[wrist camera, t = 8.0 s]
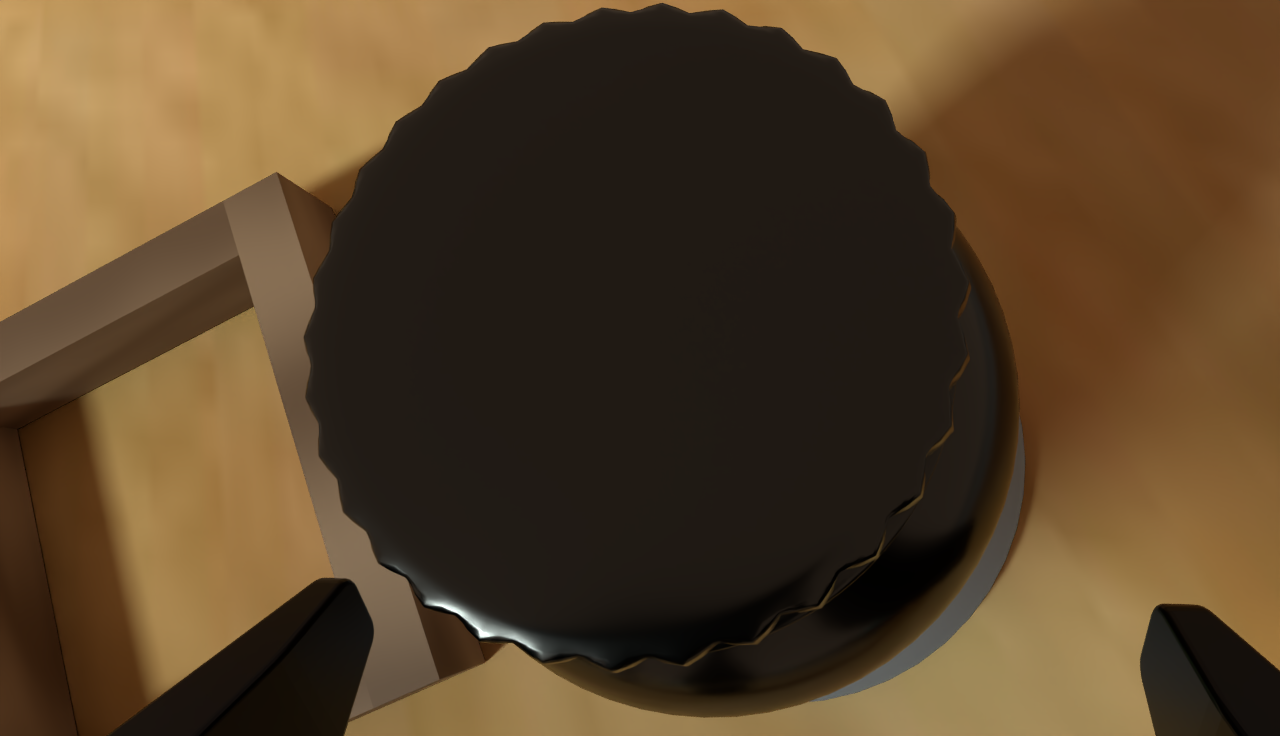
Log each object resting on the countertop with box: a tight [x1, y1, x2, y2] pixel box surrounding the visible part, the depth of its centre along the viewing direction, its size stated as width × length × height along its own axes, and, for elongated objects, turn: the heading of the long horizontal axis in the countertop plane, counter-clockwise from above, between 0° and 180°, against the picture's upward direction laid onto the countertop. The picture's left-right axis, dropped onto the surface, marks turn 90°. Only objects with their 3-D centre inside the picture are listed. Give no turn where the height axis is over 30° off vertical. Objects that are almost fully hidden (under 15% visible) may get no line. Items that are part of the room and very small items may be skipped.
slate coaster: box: [809, 415, 1025, 702], centre depth 17 cm, size 10×10×1 cm
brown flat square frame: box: [0, 172, 485, 736], centre depth 19 cm, size 12×12×2 cm
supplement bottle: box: [303, 3, 1020, 718], centre depth 11 cm, size 7×7×12 cm
